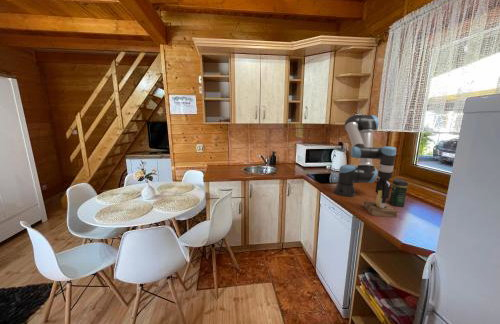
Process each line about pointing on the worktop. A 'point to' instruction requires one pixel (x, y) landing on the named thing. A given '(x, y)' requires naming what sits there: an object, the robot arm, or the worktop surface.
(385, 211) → the socket block
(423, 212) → the worktop surface
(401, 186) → the coffee jar
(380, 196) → the peg
